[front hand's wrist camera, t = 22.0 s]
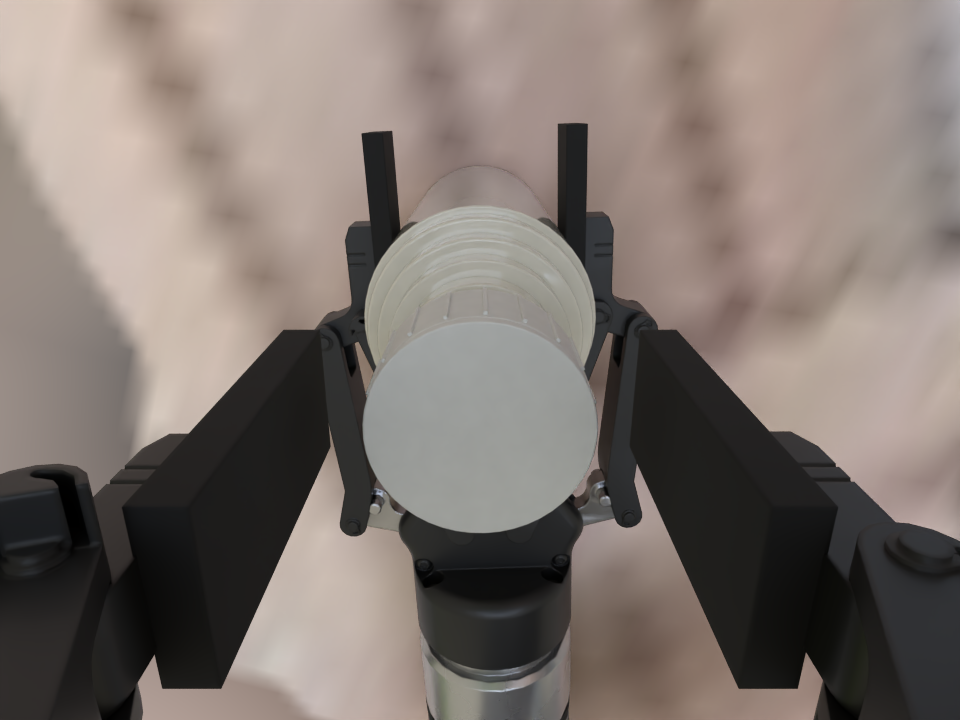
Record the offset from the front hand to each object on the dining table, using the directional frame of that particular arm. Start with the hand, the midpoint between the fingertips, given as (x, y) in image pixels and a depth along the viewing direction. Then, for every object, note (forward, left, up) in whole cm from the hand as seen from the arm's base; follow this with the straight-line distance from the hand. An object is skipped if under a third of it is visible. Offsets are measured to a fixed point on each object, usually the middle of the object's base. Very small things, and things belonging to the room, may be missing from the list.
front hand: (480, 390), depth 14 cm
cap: (0, 0, +2) cm, 2 cm away
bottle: (0, 0, -19) cm, 19 cm away
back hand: (-5, -1, -13) cm, 14 cm away
